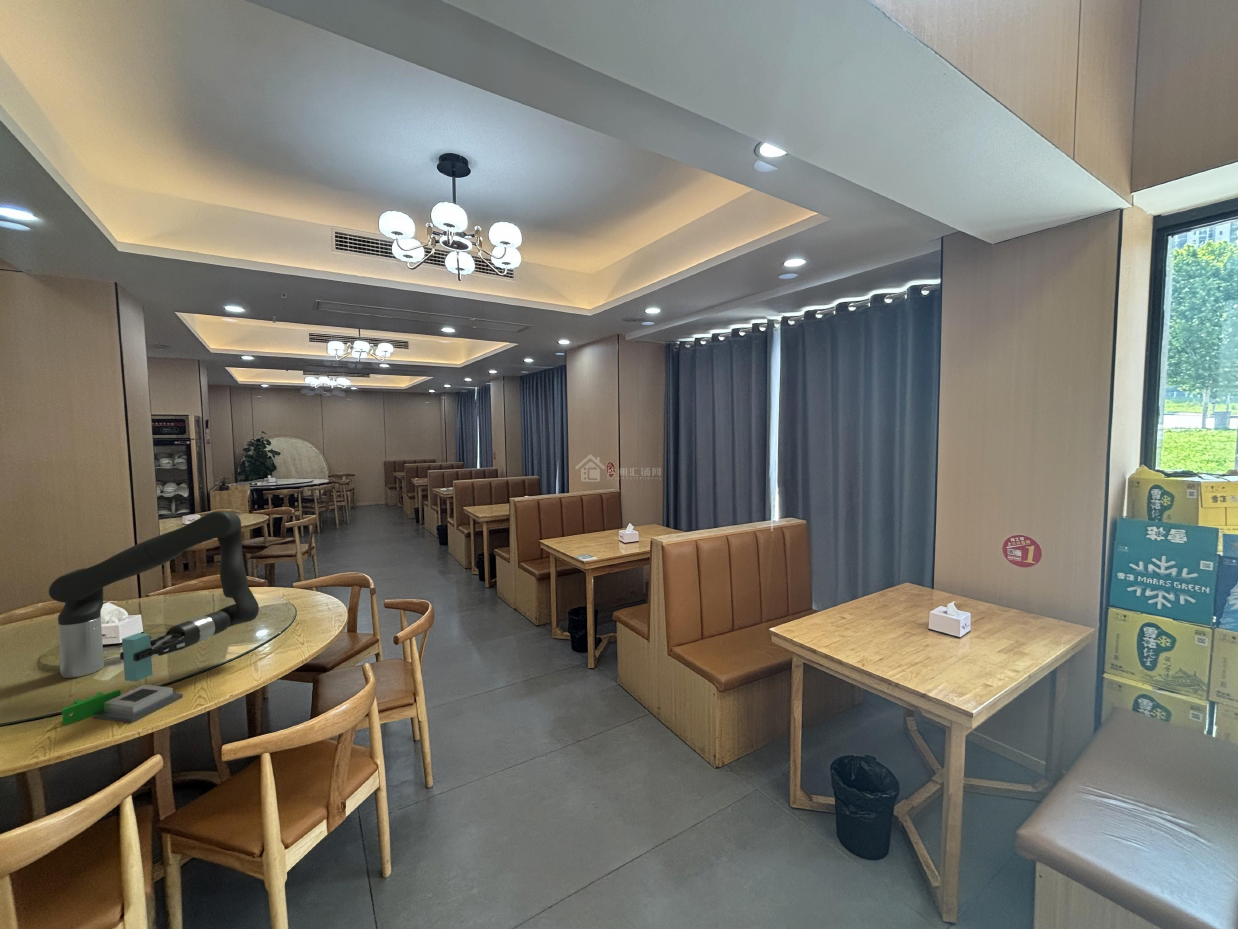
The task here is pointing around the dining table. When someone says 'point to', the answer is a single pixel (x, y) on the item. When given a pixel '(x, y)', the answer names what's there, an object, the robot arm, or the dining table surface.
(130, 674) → the teal square peg
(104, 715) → the square socket plate
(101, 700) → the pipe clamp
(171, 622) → the dining table surface
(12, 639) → the dining table surface
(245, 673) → the dining table surface
